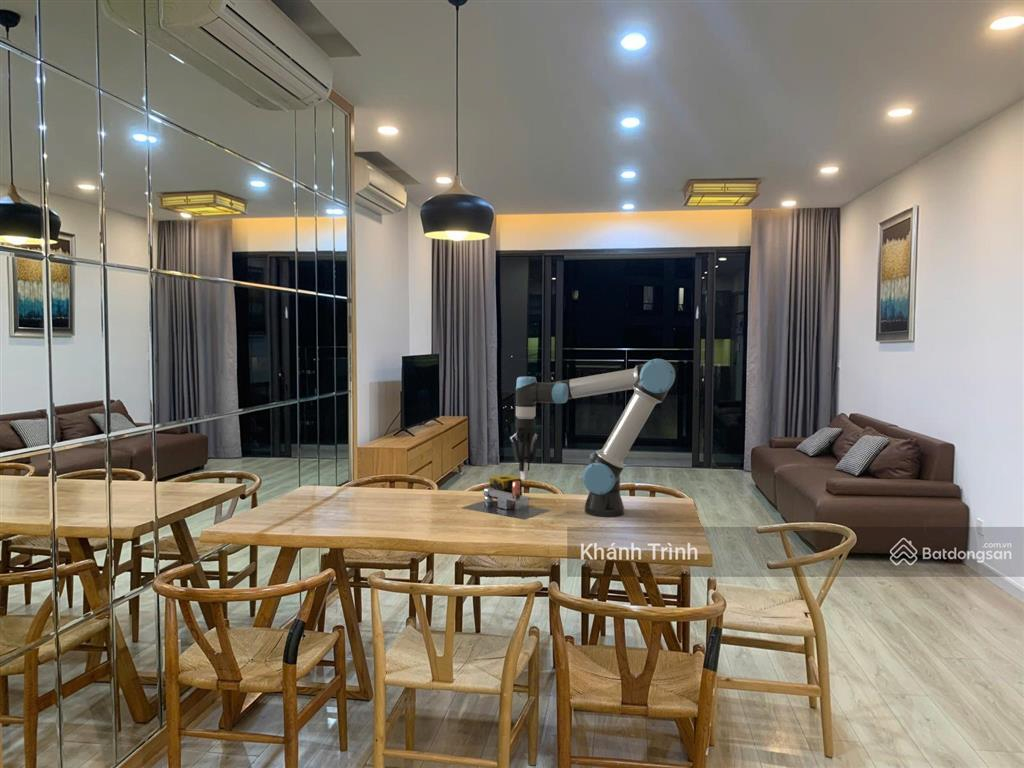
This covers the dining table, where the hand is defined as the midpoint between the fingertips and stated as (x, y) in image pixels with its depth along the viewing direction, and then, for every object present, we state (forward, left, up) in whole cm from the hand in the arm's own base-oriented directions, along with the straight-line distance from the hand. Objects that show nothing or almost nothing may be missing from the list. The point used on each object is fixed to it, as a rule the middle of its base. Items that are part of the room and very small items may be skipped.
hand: (524, 479), depth 252 cm
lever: (+8, +3, -12) cm, 15 cm away
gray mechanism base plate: (+7, +2, -14) cm, 15 cm away
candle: (+19, -15, -14) cm, 28 cm away
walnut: (+7, -2, -12) cm, 14 cm away
